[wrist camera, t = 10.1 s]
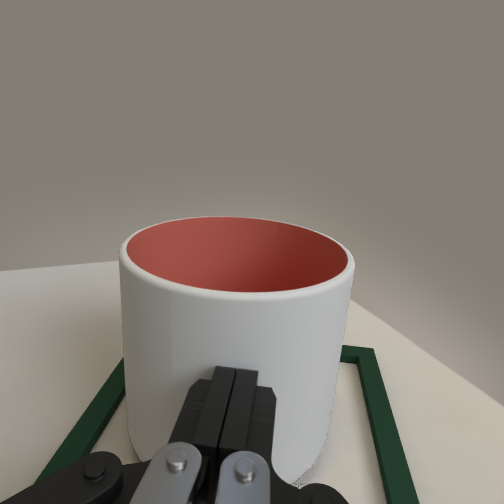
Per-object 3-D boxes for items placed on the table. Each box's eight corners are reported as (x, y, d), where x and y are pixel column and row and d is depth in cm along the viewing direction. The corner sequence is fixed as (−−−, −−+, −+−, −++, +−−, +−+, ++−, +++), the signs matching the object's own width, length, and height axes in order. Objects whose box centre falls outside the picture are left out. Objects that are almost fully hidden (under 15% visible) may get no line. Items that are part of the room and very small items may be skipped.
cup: (197, 351, 28) (200, 206, 24) (345, 402, 24) (374, 237, 20) (81, 459, 19) (61, 255, 16) (284, 564, 15) (316, 325, 12)
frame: (24, 509, 17) (23, 498, 16) (147, 329, 30) (147, 322, 30) (433, 573, 15) (437, 562, 15) (372, 355, 29) (373, 348, 28)
